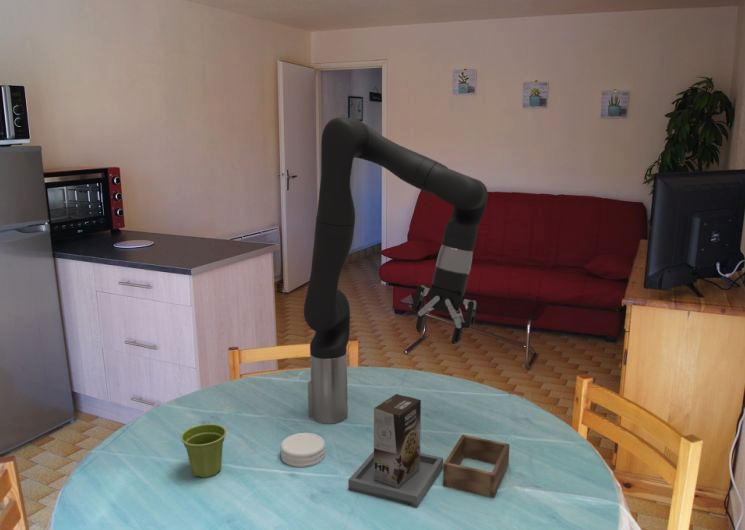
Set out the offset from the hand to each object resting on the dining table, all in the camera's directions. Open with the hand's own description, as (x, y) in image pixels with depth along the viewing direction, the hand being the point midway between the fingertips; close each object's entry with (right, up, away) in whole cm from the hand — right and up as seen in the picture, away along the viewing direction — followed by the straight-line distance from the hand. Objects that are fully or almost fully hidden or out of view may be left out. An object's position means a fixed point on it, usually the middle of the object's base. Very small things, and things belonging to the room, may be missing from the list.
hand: (437, 337), depth 137 cm
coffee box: (-9, -28, -8) cm, 31 cm away
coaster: (-30, -27, +2) cm, 41 cm away
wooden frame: (+8, -28, -7) cm, 30 cm away
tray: (-9, -29, -8) cm, 31 cm away
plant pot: (-51, -29, -4) cm, 58 cm away
